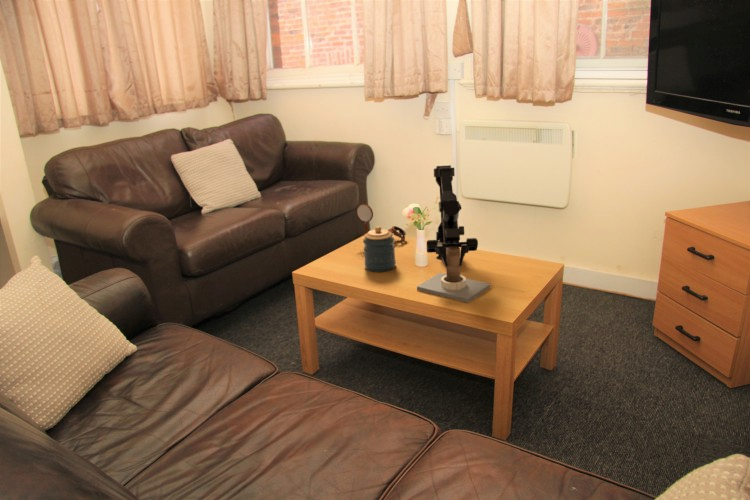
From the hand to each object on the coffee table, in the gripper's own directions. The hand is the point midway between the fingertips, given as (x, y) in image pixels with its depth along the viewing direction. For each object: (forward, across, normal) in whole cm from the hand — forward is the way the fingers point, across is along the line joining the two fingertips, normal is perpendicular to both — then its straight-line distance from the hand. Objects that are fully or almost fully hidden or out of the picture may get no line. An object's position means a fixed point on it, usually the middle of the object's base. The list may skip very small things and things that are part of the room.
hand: (453, 266), depth 216 cm
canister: (-12, -28, +26) cm, 40 cm away
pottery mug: (-34, -23, +48) cm, 63 cm away
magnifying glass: (-32, -35, +46) cm, 66 cm away
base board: (+6, 0, +8) cm, 10 cm away
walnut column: (+4, 0, +6) cm, 7 cm away
